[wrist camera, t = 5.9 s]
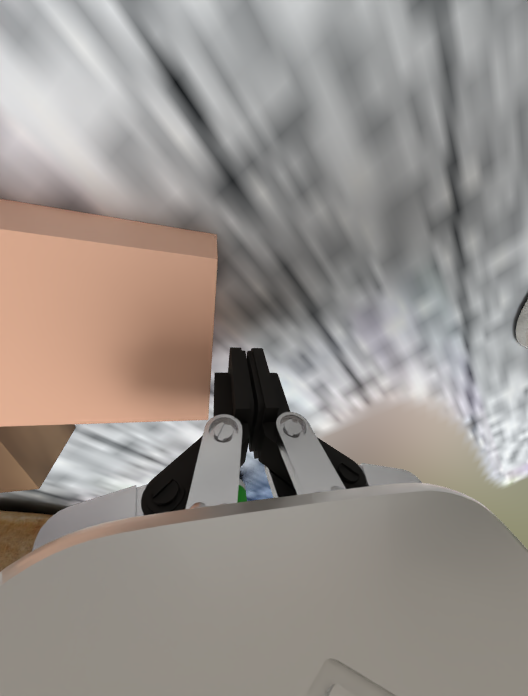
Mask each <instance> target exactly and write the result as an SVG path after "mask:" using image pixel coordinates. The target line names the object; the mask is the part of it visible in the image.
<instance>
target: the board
mask: <svg viewBox="0 0 528 696" xmlns="http://www.w3.org/2000/svg"><path fill="white" fill-rule="evenodd" d="M74 430H75V426H74V424H64V425H34V426H3V427H0V493H3V492H12V491H22V490H32V489H39V488H40V487H41V485H42V483H43V482H44V480H45V478H46V477H47V475H48V473H49V472H50V470H51V468H52V467H53V465H54V463H55V462H56V460H57V458H58V456H59V455H60V453H61V451H62V450H63V448H64V446H65V445H66V443H67V441H68V440H69V438H70V436H71V435H72V433H73V431H74Z"/></svg>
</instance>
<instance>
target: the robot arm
mask: <svg viewBox="0 0 528 696" xmlns="http://www.w3.org/2000/svg"><path fill="white" fill-rule="evenodd" d="M516 337H517V340H518V342H519V343H520V345H522V346H524V347H525V348H527V349H528V299H527V301H526V303H525V305H524V306H523V308H522V310H521V313H520V315H519V318H518V320H517V325H516ZM248 443H249V450H250V452H252V451H254V458H255V459H256V458H259V461H260V462H261V463H262V464H264V465H265V466H264V467H265V472H266V475H267V479H268V482H269V485H270V488H271V491H272V494H273V497H274V498H270V499H262V500H254V501H246V502H239V503H237V501H238V486H239V472H240V467H241V466H242V465H243V464H244V462H245V458H246V452H247V448H248ZM0 696H528V550H527V549H526V547H524V545H523V544H522V543H521V542H520V541H519V540H518V539H517V537H516V536H514V534H513V533H512V532H511V531H510V530H509V529H508V528H507V527H506V526H505V525H504V524H503V523H502V522H501V521H500V520H499V519H498V518H497V517H496V516H495V515H494V514H493V513H492V512H491V511H490V510H488V509H487V508H486V507H485V506H484V505H483V504H481V503H480V502H478V501H477V500H475V499H473V498H471V497H469V496H467V495H465V494H463V493H460V492H458V491H455V490H452V489H449V488H446V487H442V486H438V485H433V484H427V483H422V482H421V481H420V480H419V479H418V478H417V477H416V476H415V475H413V474H412V473H410V472H409V471H406V470H403V469H397V468H390V467H384V466H377V465H371V464H365V463H362V464H361V465H358V464H356V463H355V462H354V461H353V460H351V459H350V458H348V457H347V456H345V455H344V454H342V453H340V452H339V451H337V450H336V449H334V448H333V447H331V446H330V445H328V444H326V443H325V442H323V441H322V440H320V439H319V438H317V437H316V435H315V433H314V432H313V430H312V428H311V426H310V424H309V423H308V421H307V420H306V419H305V418H304V417H303V416H301V415H300V414H297V413H294V412H290V410H289V407H288V404H287V401H286V398H285V395H284V392H283V389H282V386H281V383H280V380H279V377H278V374H277V373H270V372H269V369H268V365H267V362H266V359H265V355H264V352H263V349H262V348H252V349H251V351H248V352H247V359H246V353H245V351H242V350H241V348H230V355H229V368H228V373H215V380H214V417H213V418H211V419H210V420H209V421H208V422H207V424H206V426H205V429H204V433H203V436H202V437H201V438H200V439H198V440H197V441H196V442H195V443H194V444H193V445H192V446H190V447H189V448H188V449H187V450H186V451H185V452H183V453H182V454H181V455H180V456H179V457H178V458H176V459H175V460H174V461H173V462H172V463H171V464H170V465H168V466H167V467H166V468H165V469H164V470H163V471H161V472H160V473H159V474H158V475H157V476H156V477H154V478H153V479H152V480H151V481H150V482H149V484H147V485H144V486H141V487H136V485H135V486H132V487H129V488H126V489H123V490H119V491H116V492H113V493H110V494H107V495H104V496H100V497H97V498H94V499H91V500H88V501H85V502H81V503H78V504H75V505H72V506H69V507H67V508H65V509H62V510H60V511H58V512H57V513H56V514H55V515H53V516H52V517H51V518H49V519H48V521H47V522H46V523H45V524H44V525H43V526H42V528H41V529H40V531H39V533H38V535H37V537H36V539H35V542H34V546H33V549H32V552H30V553H28V554H26V555H25V556H23V557H22V558H20V559H18V560H17V561H15V562H14V563H12V564H10V565H9V566H7V567H6V568H5V569H3V570H2V571H1V572H0Z"/></svg>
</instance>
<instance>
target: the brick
mask: <svg viewBox="0 0 528 696" xmlns="http://www.w3.org/2000/svg"><path fill="white" fill-rule="evenodd" d="M217 261H218V256H217V234H211V233H205V232H198V231H192V230H186V229H180V228H174V227H168V226H162V225H156V224H150V223H144V222H138V221H132V220H126V219H120V218H114V217H108V216H102V215H96V214H90V213H84V212H78V211H72V210H66V209H60V208H53V207H47V206H41V205H35V204H29V203H23V202H17V201H11V200H5V199H0V427H3V426H34V425H64V424H94V423H125V422H155V421H185V420H208V414H209V397H210V380H211V363H212V346H213V329H214V312H215V295H216V278H217Z"/></svg>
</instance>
